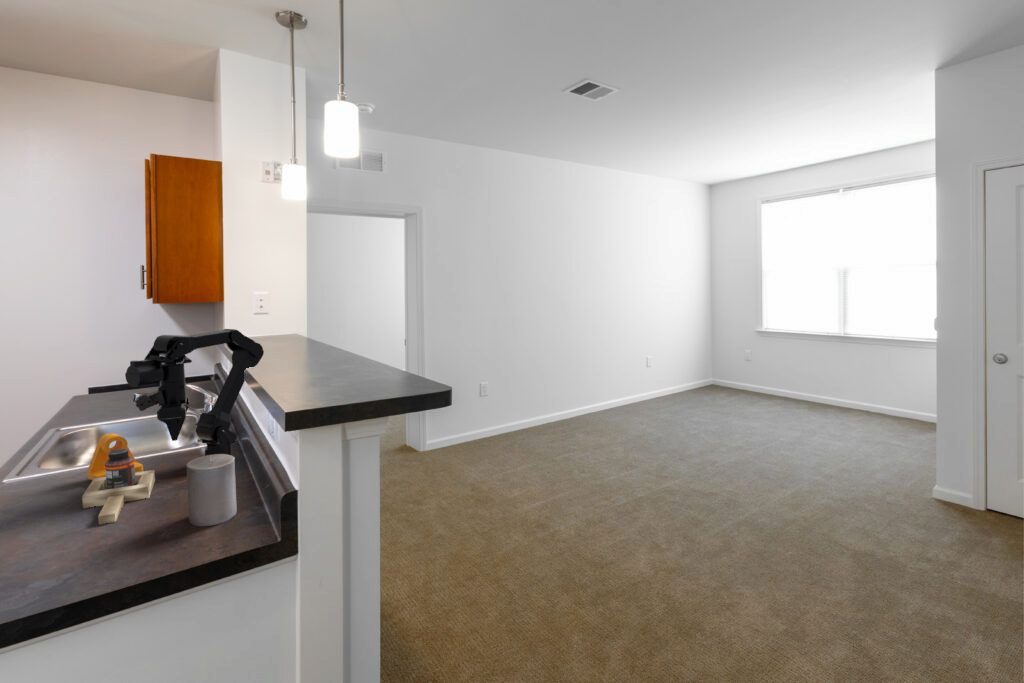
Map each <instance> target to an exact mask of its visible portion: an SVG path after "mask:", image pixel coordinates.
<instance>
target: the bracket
mask: <svg viewBox="0 0 1024 683" xmlns="http://www.w3.org/2000/svg"><path fill="white" fill-rule="evenodd" d="M113 442H115V444H114V446H112V447H110V445H111V444H112V443H113ZM118 449H127V450H128V453H129V454H128V456H130V457H132V458H133V460H134V469H135V473H136V472H143V471H144V465H143V464H142V463H140V462H138V461H137V459H135V457H134V455H133V453H132V452H131V450H130V449H129V447H128V440H127V438H125V437H123V436H120V435H119V434H116V433H105V434H103V435H102V436H101V437H100V438H99V440H98V441H97V444H96V447H95V450H94V452H93V455H92V458H91V461H90V464H89V465H88V468H87V478H88V479H89V480H90V481H91V482H92V481H93V479H94V478H100V477H106V473H105V463H106V462H107V461H108V460H109V459H110V458H109V452H111V451H114V450H118Z"/></svg>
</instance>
